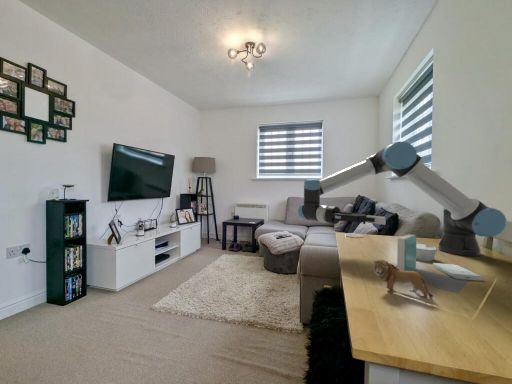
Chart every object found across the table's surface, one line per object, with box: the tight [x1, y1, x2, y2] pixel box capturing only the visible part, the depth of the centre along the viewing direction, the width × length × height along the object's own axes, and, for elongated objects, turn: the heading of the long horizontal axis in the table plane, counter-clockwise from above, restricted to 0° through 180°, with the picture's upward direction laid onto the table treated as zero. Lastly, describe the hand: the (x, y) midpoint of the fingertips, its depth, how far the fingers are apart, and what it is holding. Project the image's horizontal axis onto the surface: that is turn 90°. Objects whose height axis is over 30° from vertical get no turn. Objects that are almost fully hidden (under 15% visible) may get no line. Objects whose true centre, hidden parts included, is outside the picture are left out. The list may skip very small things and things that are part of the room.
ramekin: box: [416, 243, 437, 262], centre depth 101 cm, size 11×11×5 cm
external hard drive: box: [432, 262, 483, 282], centre depth 82 cm, size 2×8×12 cm
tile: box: [396, 233, 417, 271], centre depth 82 cm, size 10×2×12 cm, turn 129°
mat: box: [395, 265, 469, 294], centre depth 78 cm, size 14×20×1 cm
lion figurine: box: [372, 258, 434, 299], centre depth 67 cm, size 15×5×9 cm, turn 69°
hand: (384, 220), depth 87 cm, fingers closed
